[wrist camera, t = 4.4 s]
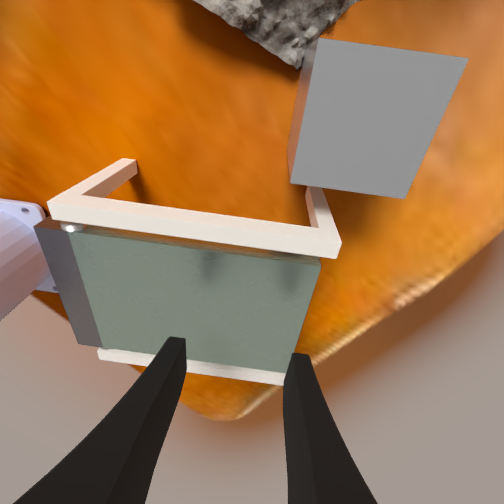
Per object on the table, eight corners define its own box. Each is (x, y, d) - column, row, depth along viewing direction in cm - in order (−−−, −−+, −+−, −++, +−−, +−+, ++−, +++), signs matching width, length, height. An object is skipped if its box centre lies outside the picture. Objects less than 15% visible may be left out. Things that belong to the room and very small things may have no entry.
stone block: (286, 149, 15) (289, 182, 11) (304, 48, 13) (318, 37, 8) (367, 160, 15) (404, 199, 11) (401, 61, 13) (469, 58, 8)
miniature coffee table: (142, 289, 22) (99, 359, 17) (122, 158, 16) (46, 201, 11) (288, 310, 22) (291, 386, 17) (321, 185, 16) (341, 242, 11)
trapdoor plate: (93, 326, 18) (79, 346, 16) (55, 207, 13) (31, 222, 12) (285, 353, 18) (286, 375, 16) (318, 244, 13) (322, 262, 12)
